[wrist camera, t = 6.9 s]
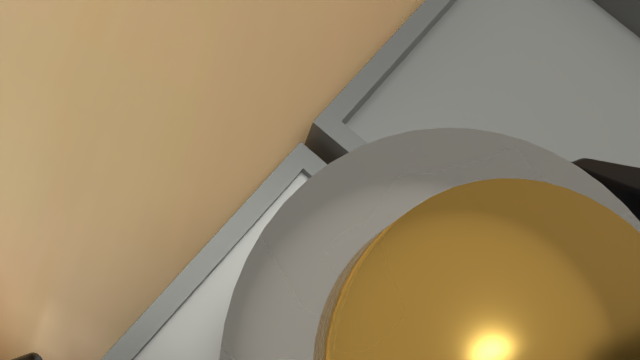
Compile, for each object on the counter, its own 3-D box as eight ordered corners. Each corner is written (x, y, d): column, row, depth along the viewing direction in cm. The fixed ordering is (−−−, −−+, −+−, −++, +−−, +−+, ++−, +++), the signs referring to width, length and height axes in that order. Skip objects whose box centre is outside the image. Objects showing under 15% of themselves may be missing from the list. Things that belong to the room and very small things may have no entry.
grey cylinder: (415, 339, 17) (894, 331, 5) (316, 474, 16) (633, 946, 4) (296, 237, 18) (465, -16, 5) (189, 362, 16) (66, 429, 4)
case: (835, 185, 22) (907, 166, 20) (687, 473, 19) (755, 492, 16) (506, -74, 23) (537, -122, 21) (302, 149, 20) (312, 122, 17)
